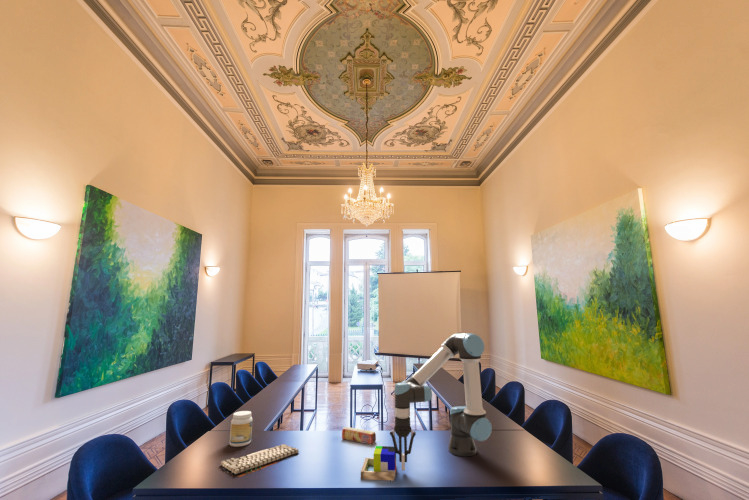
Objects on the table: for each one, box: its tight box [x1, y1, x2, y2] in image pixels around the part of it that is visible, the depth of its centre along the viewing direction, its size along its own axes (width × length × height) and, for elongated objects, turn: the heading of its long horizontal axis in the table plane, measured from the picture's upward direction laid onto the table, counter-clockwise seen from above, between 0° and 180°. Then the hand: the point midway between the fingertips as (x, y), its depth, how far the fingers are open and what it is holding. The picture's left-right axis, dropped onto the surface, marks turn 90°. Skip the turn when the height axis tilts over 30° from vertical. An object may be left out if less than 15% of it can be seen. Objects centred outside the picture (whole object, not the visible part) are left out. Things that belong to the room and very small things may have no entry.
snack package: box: [341, 426, 377, 445], centre depth 203 cm, size 21×7×7 cm, turn 64°
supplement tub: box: [229, 410, 253, 448], centre depth 200 cm, size 12×12×17 cm
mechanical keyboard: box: [218, 443, 300, 478], centre depth 175 cm, size 38×19×3 cm, turn 139°
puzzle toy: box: [373, 445, 397, 479], centre depth 162 cm, size 10×10×10 cm
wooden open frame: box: [360, 457, 395, 482], centre depth 162 cm, size 16×16×3 cm
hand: (403, 469), depth 160 cm, fingers closed
